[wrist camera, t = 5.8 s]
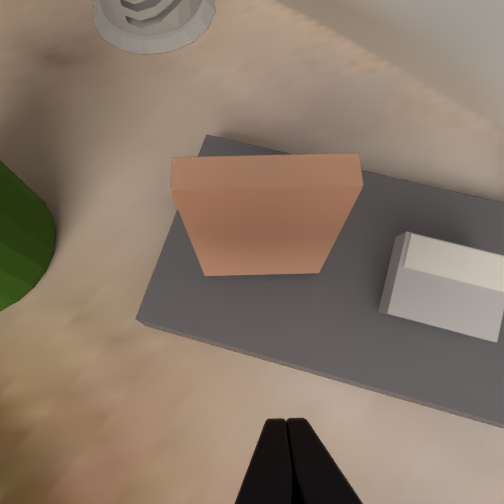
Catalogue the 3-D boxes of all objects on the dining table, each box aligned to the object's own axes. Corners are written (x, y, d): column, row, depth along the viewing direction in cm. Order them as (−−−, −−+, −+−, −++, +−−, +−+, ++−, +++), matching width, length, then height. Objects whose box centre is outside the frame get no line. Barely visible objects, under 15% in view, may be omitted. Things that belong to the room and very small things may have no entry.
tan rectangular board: (317, 276, 21) (363, 185, 12) (205, 279, 21) (170, 190, 12) (315, 255, 22) (359, 153, 13) (206, 258, 22) (172, 157, 13)
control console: (694, 483, 19) (783, 500, 16) (145, 325, 22) (126, 313, 19) (671, 262, 23) (739, 239, 20) (209, 153, 26) (203, 118, 23)
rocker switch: (477, 338, 20) (499, 342, 18) (377, 311, 20) (388, 313, 18) (493, 261, 20) (517, 257, 18) (395, 236, 20) (407, 230, 18)
